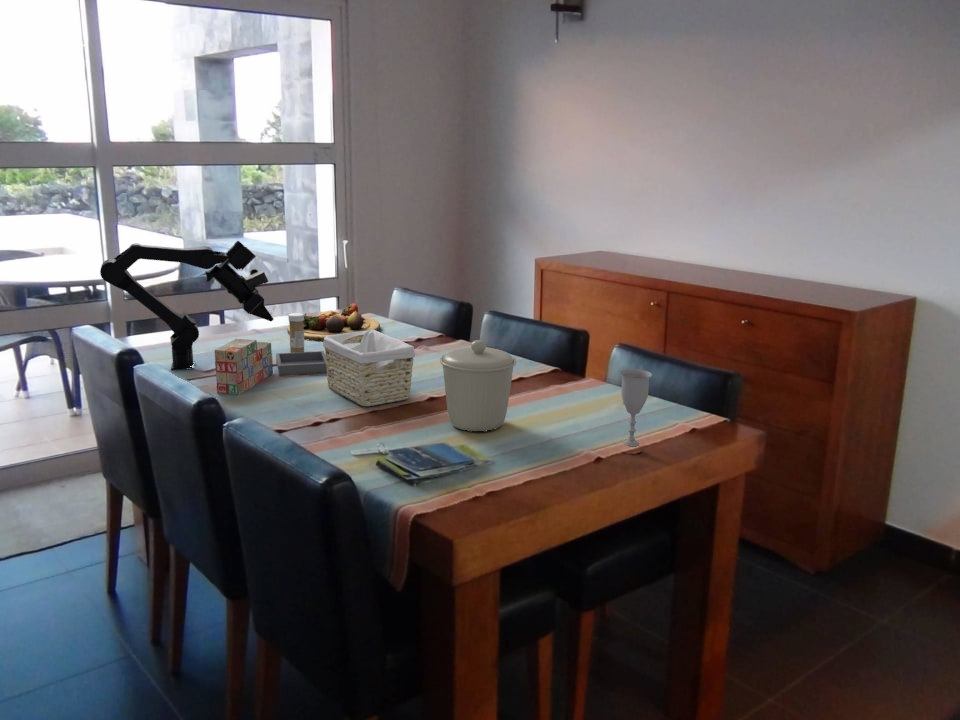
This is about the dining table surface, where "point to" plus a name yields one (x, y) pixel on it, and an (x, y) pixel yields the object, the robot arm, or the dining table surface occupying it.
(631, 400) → the chalice
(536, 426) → the dining table surface
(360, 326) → the wooden plate with food
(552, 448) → the dining table surface
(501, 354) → the canister
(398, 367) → the storage basket
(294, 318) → the sprinkles bottle
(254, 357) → the stack of blocks
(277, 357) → the box
